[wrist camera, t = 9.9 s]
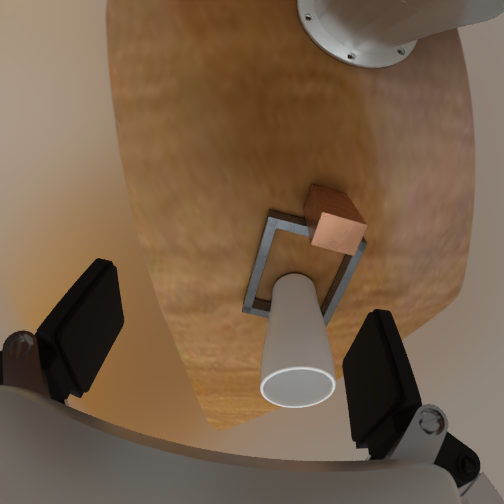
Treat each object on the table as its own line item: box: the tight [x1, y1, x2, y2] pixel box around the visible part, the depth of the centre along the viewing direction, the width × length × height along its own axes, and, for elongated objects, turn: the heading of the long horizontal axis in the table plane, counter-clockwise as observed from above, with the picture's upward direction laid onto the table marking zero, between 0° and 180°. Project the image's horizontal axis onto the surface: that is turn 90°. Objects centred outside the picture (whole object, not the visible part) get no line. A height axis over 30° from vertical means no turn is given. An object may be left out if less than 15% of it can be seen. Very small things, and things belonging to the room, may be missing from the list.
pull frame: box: [242, 184, 367, 327], centre depth 30 cm, size 17×11×8 cm, turn 167°
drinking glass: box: [260, 273, 336, 408], centre depth 30 cm, size 7×7×15 cm
